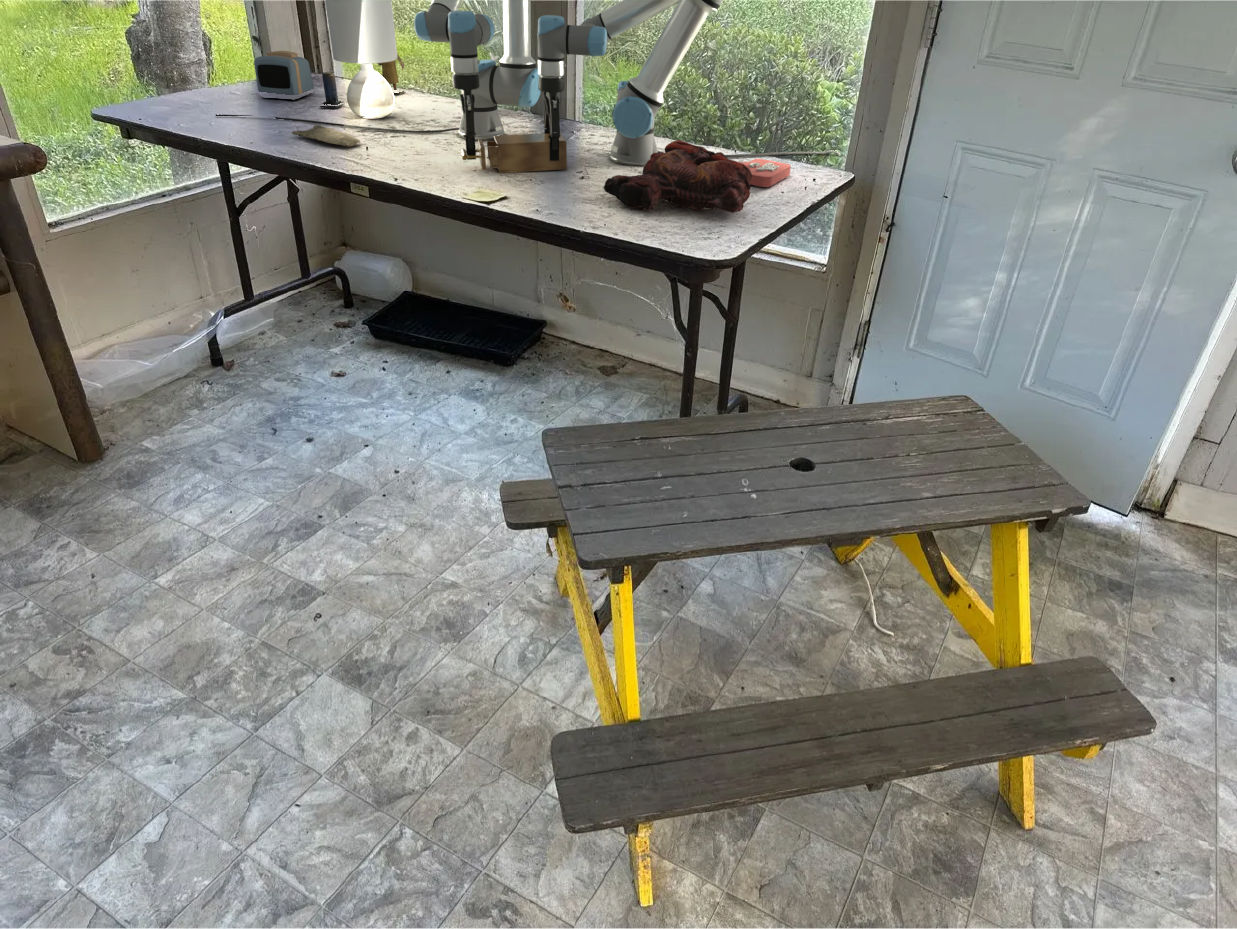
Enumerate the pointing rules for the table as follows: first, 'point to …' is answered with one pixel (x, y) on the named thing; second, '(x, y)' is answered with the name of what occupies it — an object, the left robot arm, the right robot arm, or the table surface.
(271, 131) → the table surface
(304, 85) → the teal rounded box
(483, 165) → the drawer
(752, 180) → the plaque
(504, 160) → the cabinet
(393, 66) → the figurine
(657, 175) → the sculpture
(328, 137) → the stone tool
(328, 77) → the beverage can
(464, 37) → the left robot arm
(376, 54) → the lamp
